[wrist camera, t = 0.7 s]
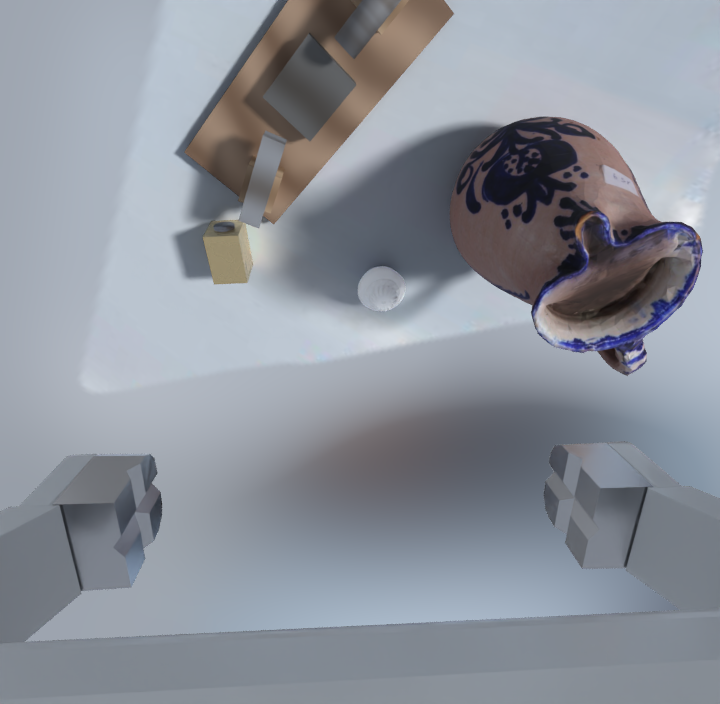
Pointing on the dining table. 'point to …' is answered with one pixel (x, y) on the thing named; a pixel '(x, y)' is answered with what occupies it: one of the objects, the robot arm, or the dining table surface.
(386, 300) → the white rounded piece
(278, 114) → the shaft stand
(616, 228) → the ceramic pitcher
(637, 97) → the dining table surface
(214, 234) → the tan rectangular block
